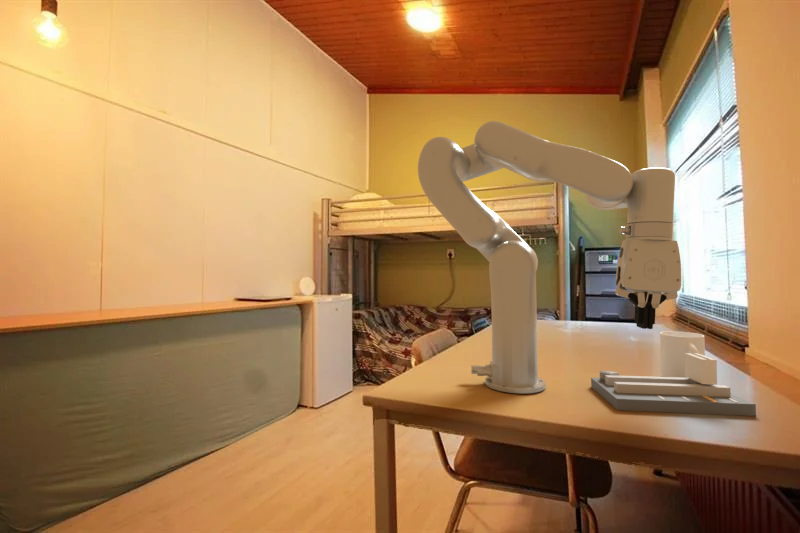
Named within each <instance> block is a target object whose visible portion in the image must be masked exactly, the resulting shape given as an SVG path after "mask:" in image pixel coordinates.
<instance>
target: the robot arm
mask: <svg viewBox="0 0 800 533" xmlns="http://www.w3.org/2000/svg"><path fill="white" fill-rule="evenodd" d="M417 163H418V164H417V176H418V179H419V183H420V187H421V189H422V190H423V192H424V195H425V196H426V198H428V201H430V204H432V205H433V206H434V207H435V208H436V209H437V211H438V212H439V213H440V214H441V215H442V216H443V218H444V219H445V220H446V221H447V223H448V224H449V225H451V227H452V228H453V229H454V230H455V231H456V232H457V234H458V235H459V236H460V237H461V239H463V241H464V242H465V243H466V244H467V245H468V246H470V247H472V248H474V249H476V250H477V251H478V252H479V253H480V254H481V255H482V256H483V257H484V258H485V260H487V261H488V262H489V263H488V265H489V266H488V268H489V269H488V270H489V272H488V274H489V283H490V284H489V286H490V299H491V300H490V304H491V306H490V308H491V353H492V354H491V359H492V360H489V364H485V365H479V364H478V365H476V364H472V365H471V367H470V368H471V375H476V376H477V377H483V376H485V379H484V383H485V385H486V386H487V387H488V388H490V389H492V390H494V391H495V390H496V391H498V392H503V393H509V394H523V395H524V394H525V395H526V394H536V393H540V392H543V391H544V390H545V389H546V381H545V380H544V379H542V378H540V377H539V374H538V373H539V372H538V371H539V369H538V368H539V367H538V365H539V364H538V361H539V360H538V314H537V311H538V308H537V307H538V306H537V304H538V303H537V270H538V266H539V259H538V256H537V255H538V254H537V253H536V252H535V250H534V249H533V248H532V247H531V246H530V245H529V244H528V243H527V242H526V241H525V240H524V239H523V238H522V237H521V236H520V235H519V234H517V232H516V231H514V229H513V228H512V227H511V226H510V225H509V224H508V223H507V222H506V221H505V220H504V219H503V218H502V217H501V216H500V215H499V214H498V213H496V212H495V211H493V210H492V209H490V208H489V207H488V206H486V204H484V203H483V202H482V201H481V200H480V199H479V198H478V197H477V196H476V195H475V194H474V193H473V191H471V189H470V188H469V187H468V186H467V185H466V184H465V183H464V182H466V181H467V182H468V181H471V180H473V179H475V178H479V177H482V176H486V175H488V174H491V173H494V172H496V171H499V170H501V169H506V170H509V171H510V172H513V173H515V174H517V175H519V176H521V177H524V178H526V179H528V180H530V181H534V182H553V183H557V184H560V185H563V186H565V187H568V188H571V189H573V190H576V191H578V192H580V193H583V194H585V199H586V201H587V203H588V204H589V205H590V207H592V208H594V209H595V210H600V211H610V210H618V209H625V208H626V209H627V215H626V216H627V218H626V219H627V220H626V224H625V225H624V226H620V227H619V229H618V233H619V234H623V235H625V236H624V237H625V239H623V240H622V242H621V246H620V249H619V254H618V259H617V265H616V272H615V286H616V289H615V295H616V296H618V297H623V298H626V299H628V300H629V302H631V303H632V306H634V323H635V324H636V327H638V328H640V329H645V330H646V329H648V330H653V329H654V325H655V324H656V312H657V310H656V309H658V308H660V307H659V306H660V305H661V304H662V303H664V302H665V301H668V300H675V299H677V298H678V296H679V295H678V292H680V290H681V289H682V263H681V262H682V261H681V252H680V248H679V247H680V246H679V243H678V241H677V240H673V228H674V206H675V186H676V174H675V172H674V171H673V170H672V169H670V168H667V167H647V168H642V169H637V170H635V171H634V172H632V173H631V171H630V170H629V169H628V167H626V166H625V165H623V164H622V163H620V162H618V161H616V160H614V159H611V158H609V157H606V156H605V155H601V154H599V153H597V152H593V151H591V150H588V149H585V148H582V147H577V146H572V145H568V144H563V143H557V142H552V141H549V140H547V139H543V138H541V137H539V136H536V135H534V134H531V133H529V132H527V131H523V130H521V129H519V128H516V127H514V126H512V125H509V124H507V123H504V122H501V121H495V120H492V121H486V122H485V123H483V124H481V125H480V127H478V129H477V131H476V132H475V135H474V140H473V143H472V144H470V145H468V146H464V147H460V145H459V144H458V143H457V142H455V140H452V138H449V137H445V136H435V137H433V138H431V139H429V140H428V141H427V142H426V143H425V144H424V146H423V147H422V149H421V152H420V154H419V156H418V162H417ZM645 292H646V293H647V295H646V297H645ZM645 298H646V299H645Z"/></svg>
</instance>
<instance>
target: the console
mask: <svg viewBox="0 0 800 533" xmlns="http://www.w3.org/2000/svg"><path fill="white" fill-rule="evenodd" d="M590 382H591V384H590V388H592V389H593V390H594V391H595V392H596V393H597V394H598V395H599V396H601V398H603V399H604V400H605V401H606V402H607V403H608V404H610V405H611V406H612V407H613V408H614V409H615V410H616V411H628V412H629V411H630V412H631V411H632V412H633V411H634V412H650V413H652V412H653V413H654V412H655V413H656V412H657V413H676V414H677V413H679V414H680V413H681V414H683V413H684V414H699V415H700V414H701V415H721V416H722V415H725V416H747V417H748V416H750V417H756V416H757V405H756V403H754V402H752V401H749V400H747V399H745V398H743V397H741V396H739V395H736V394H734V393H732V392H731V387H729V386H728V385H724V384H721V385H720V384H717V385H700V384H688V378H684V377H662V376H651V375H650V376H646V375H645V376H644V375H643V376H642V375H641V376H640V375H620V373H619V372H616V371H612V370H601V371H599V377H591V378H590Z"/></svg>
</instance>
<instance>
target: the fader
mask: <svg viewBox="0 0 800 533" xmlns="http://www.w3.org/2000/svg"><path fill="white" fill-rule="evenodd" d="M717 361H718V360H717V359H715V358H712V357H709V356H707V355H705V356H704V355H701V354H698V353H685V376H686V377H688V384H700V385H718V364H717Z"/></svg>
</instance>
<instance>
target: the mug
mask: <svg viewBox="0 0 800 533" xmlns="http://www.w3.org/2000/svg"><path fill="white" fill-rule="evenodd" d="M705 344H706V343H705V335H704V334H701V333H697V332H689V331H688V332H687V331H674V330H673V331H670V330H669V331H668V330H667V331H666V330H665V331H660V332H659V364H660V365H659V366H660V367H659V368H660V370H659V372H660V377H684V378H688V377H686V376H685V353H698V354H701V355H704V356H706V353H705V352H706V351H705V350H706V348H705V347H706V346H705Z"/></svg>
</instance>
